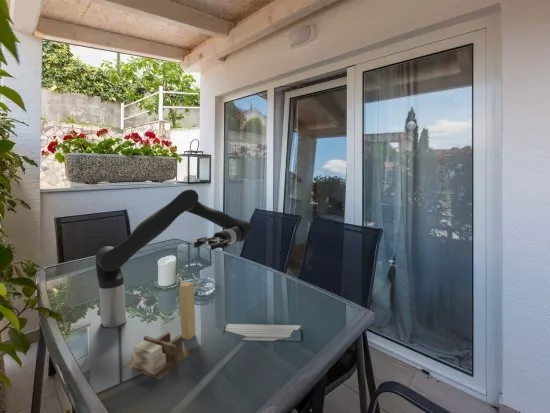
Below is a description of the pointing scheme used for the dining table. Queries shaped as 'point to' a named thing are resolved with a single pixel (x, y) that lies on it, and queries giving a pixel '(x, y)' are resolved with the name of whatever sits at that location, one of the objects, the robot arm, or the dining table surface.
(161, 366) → the offcut low
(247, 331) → the baseboard molding
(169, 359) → the rack
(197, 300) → the dining table surface
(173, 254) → the dining table surface
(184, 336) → the slat
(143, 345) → the offcut top
